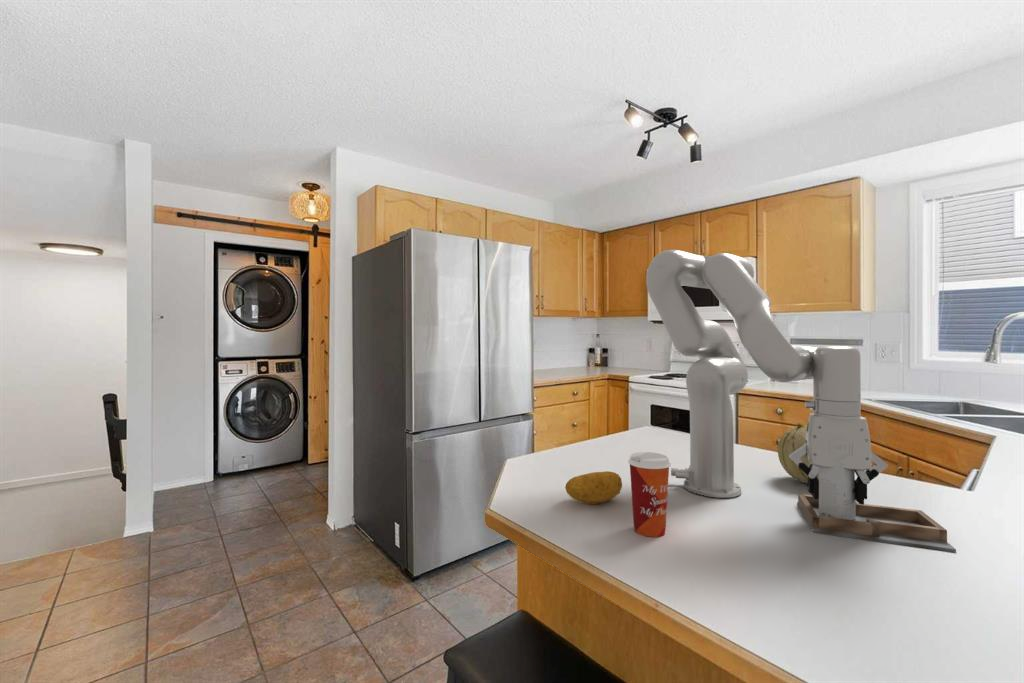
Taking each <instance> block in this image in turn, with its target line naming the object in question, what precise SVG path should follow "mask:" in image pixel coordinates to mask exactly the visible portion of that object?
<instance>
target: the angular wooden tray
mask: <svg viewBox="0 0 1024 683" xmlns="http://www.w3.org/2000/svg"><path fill="white" fill-rule="evenodd" d="M797 496H798V497H797V500H798V501H797V505H798V507H799V509H800V511H801V513H802V515H803V516H804V518H805V519H806V522H808V525H809V527H810V529H811V530H812V532H813V534H814V533H815V534H822V535H829V536H837V537H845V538H851V539H852V538H853V539H856V540H857V539H858V540H865V541H870V542H871V541H872V542H873V541H874V542H880V543H885V544H887V543H888V544H894V545H902V546H908V547H915V548H922V547H923V549H928V548H931V550H936V549H938V550H937V551H944V552H949V553H950V552H951V553H957V549H956V548H955V547H954V546H952V544H950V543H949V542H948V530H947V529H946V528H945V527H943V526H942V525H941V524H939V523H938V522H937V521H935V520H934V519H933V518H932V517H930V516H929V515H927V514H926V513H925V512H924V511H922V510H919V509H911V508H904V507H903V508H901V507H894V506H886V505H879V504H878V505H877V504H876V505H875V504H867V503H864V505H862V504H860V503H858V502H857V501H856V500H855V507H856V518H855V519H853V520H846V519H838V518H830V517H822V516H819V499H814V498H813V496H812V495H811V494H804V493H798V494H797Z"/></svg>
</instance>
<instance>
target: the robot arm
mask: <svg viewBox="0 0 1024 683" xmlns="http://www.w3.org/2000/svg"><path fill="white" fill-rule="evenodd" d="M754 271H755V270H754V267H753V266H752V263H750V261H749V260H748V259H746V258H744V257H741V256H739V255H735V254H731V253H727V252H720V253H716V254H713V255H711V256H710V255H702V254H701V255H700V254H695V253H691V252H688V251H684V250H679V249H666V250H663V251H661V252H659V253H658V254H656V255H655V256H654V257H653V258H652V260H651V262H650V264H648V268H647V271H646V279H645V284H646V289H647V292H648V295H649V297H650V299H651V301H652V303H653V305H654V307H655V308H656V310H657V311H656V312H658V315H659V316H660V319H661V321H662V323H663V325H664V328H665V329H666V331H667V334H668V336H669V338H670V340H671V342H672V344H673V346H674V347H675V349H676V351H677V352H678V353H679V354H680V355H682V356H685V357H694V358H695V357H696V358H697V357H698V360H695V362H693V363H692V364H691V365H690V366H689V368H688V370H687V372H686V377H685V384H686V391H687V396H688V403H689V433H690V434H689V439H690V440H689V452H690V453H689V455H690V456H689V457H690V458H689V459H690V465H688V466H689V467H687V468H686V467H685V468H684V469H683V468H675V467H671V468H670V471H671V472H670V476H672V477H675V479H684V481H683V488H684V489H685V490H687V489H688V490H687V491H688V492H690V491H691V493H693V492H694V493H693V494H696V493H697V494H696V495H699V494H700V495H699V496H703V495H704V496H705V497H709V498H718V499H721V498H723V499H724V498H726V499H727V498H736V497H738V496H740V495H741V494H742V487H741V486H740V485H739V484H738V483H736V482H735V472H734V471H735V470H734V469H735V468H734V467H735V461H734V460H735V459H734V458H735V456H734V455H735V452H734V450H735V449H734V448H735V446H734V445H735V444H734V442H735V441H734V429H735V428H734V411H733V406H732V400H731V396H730V395H733V394H734V395H735V394H737V393H739V392H741V391H742V390H743V389H744V388H746V385H747V384H748V379H749V375H748V374H749V373H748V370H747V369H748V368H747V367H746V364H745V362H744V360H743V359H742V357H741V355H740V353H739V352H738V350H737V348H736V346H735V345H734V342H733V341H732V338H731V337H730V335H729V333H728V332H727V330H726V329H725V328H724V327H723V326H722V325H721V324H719V323H718V322H716V321H713V320H710V319H704V318H702V317H701V315H700V313H699V311H698V310H697V308H696V307H695V304H694V302H693V300H692V299H691V297H690V296H689V294H687V293H686V291H685V290H684V288H683V286H685V287H692V288H700V289H707V290H708V289H709V290H710V292H712V294H713V295H714V296H715V298H716V299H717V300H718V301H719V303H720V304H721V305H722V308H724V309H725V311H726V312H727V313H728V315H729V316H730V317H731V319H732V320H733V322H734V325H735V329H736V332H737V335H738V338H739V339H740V342H741V344H742V346H743V347H744V349H745V351H746V353H748V355H749V356H750V358H752V360H753V361H754V363H755V364H756V366H758V368H759V369H760V371H762V372H763V374H764V375H766V377H768V378H770V379H771V380H772V381H775V382H778V383H779V382H780V383H789V382H797V381H805V380H812V381H813V382H812V383H813V384H812V385H813V389H812V390H813V393H812V394H813V396H812V397H813V398H812V399H811V400H810V401H805V402H804V408H805V409H809V410H812V413H809V417H808V420H807V424H806V425H807V432H806V442H805V444H804V445H803V446H801V447H800V448H799V449H797V450H796V451H794V452H793V453H791V454H790V455H789V457H790V458H791V459H792V460H793V461H794V463H795V464H796V465H797V466H798V467H799V468H800V469H801V470H802V471H803V472H805V473H806V474H807V475H808V484H807V491H808V493H809V494H810V495H812V496H813V498H814V499H819V480H818V478H817V473H818V472H819V467H825V468H833V467H835V460H843V461H844V466H843V468H844V469H846V470H854V471H855V476H857V477H856V478H855V501H856V502H857V503H860V504H862V505H864V504H865V500H867V499H868V484H869V485H870V483H871V481H872V480H874V479H875V478H877V477H878V476H879V474H880V473H882V472H883V471H885V470H886V469H888V467H889V464H887V462H885V461H884V460H883V459H882V458H881V457H879V456H878V455H877V454H875V453H874V452H873V451H872V443H871V436H870V430H869V425H868V420H867V418H866V417H865V416H864V417H863V416H862V414H861V410H862V408H861V406H862V404H861V400H862V399H861V396H862V394H861V393H862V392H861V390H862V389H861V388H862V387H861V385H862V384H861V353H860V351H859V350H858V348H856V347H854V346H845V345H844V346H842V345H841V346H838V345H836V346H834V345H833V346H832V345H831V346H819V347H815V346H809V345H799V344H798V345H797V344H790V342H789V341H788V340H787V338H786V337H785V336H784V335H783V334H782V333H781V331H780V330H779V329H778V327H777V325H776V324H775V322H774V321H773V319H772V315H771V304H772V302H771V299H770V297H769V295H767V293H766V292H765V291H764V290H763V289H762V288H761V287H760V285H759V284H758V283H757V282H756V280H755V279H754V277H755V272H754ZM803 455H805V456H806V458H807V459H808V460H809V462H810V464H809V466H807V465H805V464H804V463H803V462H802V461H801V460H800V458H801V457H802V456H803ZM873 464H874V465H873Z"/></svg>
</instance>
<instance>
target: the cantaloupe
mask: <svg viewBox="0 0 1024 683" xmlns="http://www.w3.org/2000/svg"><path fill="white" fill-rule="evenodd" d="M796 425H797V426H794V427H792V428H790V429H788V430H786V431H785V432H784V433H783V434H782V436H781V437H780V439H779V440H778V443H777V444H778V445H777V456H778V460H779V463H780V464H781V467H782V468H783V470H784V471H785V472H786V473H787V474H788V475H789V476H790V477H791V478H793V479H794V480H796V481H798V482H801V483H804V484H807V485H808V475H807V474H806V473H805V472H803V471H802V470H801V469H800V468H799V467H798V466H797V465H796V464H795V463H794V461H793V460H792V459H791V458H790V457H789V455H790V454H791V453H793V452H794V451H796V450H797V449H799V448H800V447H801V446H803V445H804V444H805V442H806V432H807V424H804V425H803V424H801V423H800V422H799V423H797V424H796ZM800 460H801V461H802V462H803V463H804V464H805V465H807V466H809V464H810V462H809V460H808V459H807V458H806V456H805V455H803V456H802V457H801V458H800ZM817 478H818V473H817ZM818 480H819V478H818Z"/></svg>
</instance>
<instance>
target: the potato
mask: <svg viewBox="0 0 1024 683" xmlns="http://www.w3.org/2000/svg"><path fill="white" fill-rule="evenodd" d="M564 488H565V490H566V493H567V495H568V496H569V497H570V498H572V499H573V500H575V501H578V502H579V503H583V504H592V505H597V504H598V503H599V504H603V503H606V502H608V501H610V500H612V499H614V498H615V497H617V496H618V495H619V494H620V493H621V490H622V488H623V482H622V478H621V476H620V475H619V474H618V473H616V472H613V471H597V472H596V471H595V472H588V473H586V474H582V475H577V476H573V477H572V478H570V479H568V481H567V482H566V483H565V487H564ZM602 502H603V503H602Z"/></svg>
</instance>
